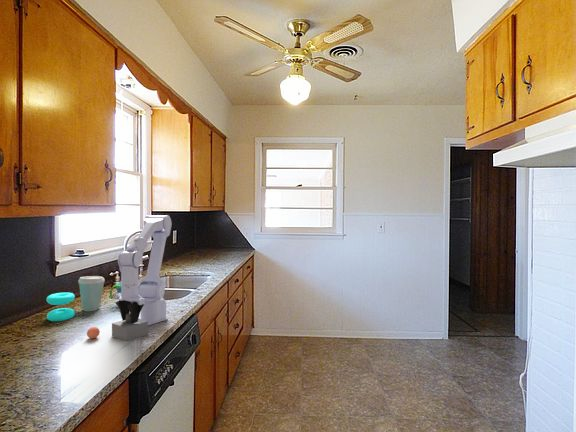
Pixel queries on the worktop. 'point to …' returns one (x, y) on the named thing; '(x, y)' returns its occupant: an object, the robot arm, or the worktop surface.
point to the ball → (93, 332)
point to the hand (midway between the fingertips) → (129, 321)
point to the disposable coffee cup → (91, 292)
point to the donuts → (61, 312)
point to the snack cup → (118, 288)
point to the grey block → (129, 329)
